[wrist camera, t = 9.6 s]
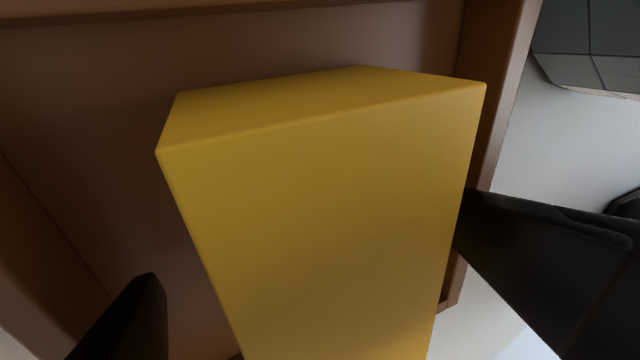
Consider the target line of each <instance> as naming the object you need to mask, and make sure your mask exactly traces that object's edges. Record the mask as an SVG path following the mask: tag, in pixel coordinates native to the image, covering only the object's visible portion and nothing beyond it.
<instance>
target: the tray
mask: <svg viewBox="0 0 640 360" xmlns="http://www.w3.org/2000/svg"><path fill="white" fill-rule="evenodd" d="M542 2H543V0H0V327H2V328H3V329H4V330H5V331H6V332H8V333H9V334H10V335H11V336H12V337H13V338H15V339H16V340H17V341H18V342H19V343H20V344H22V345H23V346H24V347H25V348H26V349H28V350H29V351H30V352H31V353H32V354H33V355H35V356H36V357H37V358H38V359H39V360H64V358H65V357H66V356H67V355H68V354H69V353H70V351H71V350H72V349H73V348H74V347H75V346H76V344H77V343H78V342H79V341H80V340H81V339H82V337H83V336H84V335H85V334H86V333H87V332H88V330H89V329H90V328H91V327H92V326H93V325H94V323H95V322H96V321H97V320H98V319H99V317H100V316H101V315H102V314H103V313H104V312H105V310H106V309H107V308H108V307H109V306H110V305H111V303H112V302H113V301H114V300H115V299H116V298H117V296H118V295H119V294H120V293H121V292H122V291H123V289H124V288H125V287H126V286H127V285H128V283H129V282H130V281H131V280H132V279H133V278H134V277H135V276H138V275H141V274H144V273H147V272H153V273H155V275H156V276H157V278H158V280H159V281H160V283H161V285H162V287H163V288H164V290H165V293H166V296H167V314H168V342H169V359H168V360H244V357H243V355H242V353H241V351H240V348H239V346H238V344H237V341H236V339H235V337H234V335H233V332H232V330H231V328H230V325H229V323H228V321H227V318H226V316H225V314H224V312H223V309H222V307H221V305H220V302H219V300H218V298H217V295H216V293H215V291H214V289H213V286H212V284H211V282H210V279H209V277H208V275H207V273H206V270H205V268H204V266H203V263H202V261H201V259H200V256H199V254H198V252H197V250H196V247H195V245H194V243H193V240H192V238H191V236H190V233H189V231H188V229H187V227H186V224H185V222H184V220H183V217H182V215H181V213H180V211H179V208H178V206H177V204H176V201H175V199H174V197H173V194H172V192H171V190H170V188H169V185H168V183H167V181H166V178H165V176H164V174H163V171H162V169H161V167H160V165H159V162H158V160H157V158H156V155H155V149H156V147H157V144H158V141H159V139H160V136H161V134H162V131H163V129H164V126H165V123H166V121H167V118H168V116H169V113H170V111H171V108H172V106H173V103H174V100H175V98H176V95H177V93H178V92H180V91H186V90H193V89H200V88H206V87H213V86H220V85H227V84H233V83H240V82H247V81H254V80H261V79H267V78H274V77H281V76H288V75H294V74H301V73H308V72H315V71H321V70H328V69H335V68H342V67H348V66H355V65H362V64H364V65H371V66H378V67H384V68H391V69H398V70H405V71H412V72H418V73H425V74H432V75H439V76H446V77H452V78H459V79H466V80H473V81H480V82H484V83H486V85H487V87H486V92H485V96H484V101H483V105H482V110H481V114H480V119H479V123H478V128H477V132H476V136H475V141H474V145H473V150H472V154H471V159H470V163H469V168H468V172H467V177H466V181H465V186H464V187H467V188H472V189H477V190H482V191H487V192H489V189H490V186H491V182H492V179H493V175H494V172H495V168H496V164H497V161H498V157H499V154H500V150H501V147H502V143H503V140H504V136H505V133H506V129H507V126H508V122H509V119H510V115H511V112H512V108H513V104H514V101H515V97H516V94H517V90H518V87H519V83H520V80H521V76H522V73H523V69H524V66H525V62H526V59H527V55H528V52H529V48H530V44H531V41H532V37H533V34H534V30H535V27H536V23H537V20H538V16H539V13H540V9H541V6H542ZM467 267H468V262H467V261H466V260H465V259H464V258H463V257H462V256H461V255H460V254H459V253H458V252H457V251H456V250H455V249H454V248H453V247H452V246H451V248H450V253H449V257H448V262H447V266H446V270H445V275H444V279H443V284H442V288H441V293H440V297H439V302H438V306H437V311H436V314H438V313H440V312H442V311H444V310H445V309H448V308H449V307H451V306H453V305H455V304H457V302H458V299H459V295H460V292H461V288H462V284H463V281H464V277H465V274H466V270H467Z"/></svg>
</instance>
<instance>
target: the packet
mask: <svg viewBox="0 0 640 360" xmlns="http://www.w3.org/2000/svg"><path fill="white" fill-rule="evenodd" d="M486 87H487V85H486V83H484V82H480V81H473V80H466V79H459V78H452V77H446V76H439V75H432V74H425V73H418V72H412V71H405V70H398V69H391V68H384V67H378V66H371V65H364V64H362V65H355V66H348V67H342V68H335V69H328V70H321V71H315V72H308V73H301V74H294V75H288V76H281V77H274V78H267V79H261V80H254V81H247V82H240V83H233V84H227V85H220V86H213V87H206V88H200V89H193V90H186V91H180V92H178V93H177V95H176V98H175V100H174V103H173V106H172V108H171V111H170V113H169V116H168V118H167V121H166V123H165V126H164V129H163V131H162V134H161V136H160V139H159V141H158V144H157V147H156V149H155V155H156V158H157V160H158V162H159V165H160V167H161V169H162V171H163V174H164V176H165V178H166V181H167V183H168V185H169V188H170V190H171V192H172V194H173V197H174V199H175V201H176V204H177V206H178V208H179V211H180V213H181V215H182V217H183V220H184V222H185V224H186V227H187V229H188V231H189V233H190V236H191V238H192V240H193V243H194V245H195V247H196V250H197V252H198V254H199V256H200V259H201V261H202V263H203V266H204V268H205V270H206V273H207V275H208V277H209V279H210V282H211V284H212V286H213V289H214V291H215V293H216V295H217V298H218V300H219V302H220V305H221V307H222V309H223V312H224V314H225V316H226V318H227V321H228V323H229V325H230V328H231V330H232V332H233V335H234V337H235V339H236V341H237V344H238V346H239V348H240V351H241V353H242V355H243V357H244V360H426V355H427V351H428V346H429V342H430V337H431V333H432V328H433V324H434V320H435V315H436V311H437V306H438V302H439V297H440V293H441V288H442V284H443V279H444V275H445V270H446V266H447V262H448V257H449V253H450V248H451V244H452V239H453V235H454V230H455V226H456V221H457V217H458V212H459V208H460V203H461V199H462V195H463V190H464V186H465V181H466V177H467V172H468V168H469V163H470V159H471V154H472V150H473V145H474V141H475V136H476V132H477V128H478V123H479V119H480V114H481V110H482V105H483V101H484V96H485V92H486Z"/></svg>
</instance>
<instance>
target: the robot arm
mask: <svg viewBox="0 0 640 360" xmlns="http://www.w3.org/2000/svg"><path fill="white" fill-rule="evenodd" d="M451 246H452V247H453V248H454V249H455V250H456V251H457V252H458V253H459V254H460V255H461V256H462V257H463V258H464V259H465V260H466V261H467V262H468V263H469V264H470V266H471V267H472V268H473V269H474V270H475V271H476V272H477V273H478V274H479V275H480V276H481V277H482V278H483V279H484V280H485V281H486V282H487V283H488V284H489V285H490V286H491V287H492V288H493V289H494V290H495V291H496V292H497V293H498V294H499V296H500V297H501V298H502V299H503V300H504V301H505V302H506V303H507V304H508V305H509V306H510V307H511V308H512V309H513V310H514V311H515V312H516V313H517V314H518V315H519V316H520V317H521V318H522V319H523V320H524V321H525V322H526V323H527V324H528V326H529V327H530V328H531V329H532V330H533V331H534V332H535V333H536V334H537V335H538V336H539V337H540V338H541V339H542V340H543V341H544V342H545V343H546V344H547V345H548V346H549V347H550V348H551V349H552V350H553V351H554V352H555V353H556V354H557V355H558V356H559V358H560V359H561V360H640V189H639V190H637V191H635V192H633V193H631V194H628V195H626V196H624V197H622V198H620V199H618V200H616V201H614V202H613V203H612V204H611V205H610V207H609V208H608V210H607V212H606V213H605V215H603V214H598V213H592V212H586V211H581V210H576V209H571V208H566V207H561V206H556V205H553V206H552V205H550V204H546V203H541V202H536V201H531V200H526V199H521V198H516V197H511V196H506V195H502V194H497V193H492V192H487V191H482V190H477V189H472V188H467V187H464V190H463V195H462V199H461V203H460V208H459V212H458V217H457V221H456V226H455V230H454V235H453V239H452V244H451ZM168 359H169V342H168V314H167V296H166V293H165V290H164V288H163V287H162V285H161V283H160V281H159V280H158V278H157V276H156V275H155V273H153V272H147V273H144V274H141V275H138V276H135V277H134V278H133V279H132V280H131V281H130V282H129V283H128V285H127V286H126V287H125V288H124V289H123V291H122V292H121V293H120V294H119V295H118V296H117V298H116V299H115V300H114V301H113V302H112V303H111V305H110V306H109V307H108V308H107V309H106V310H105V312H104V313H103V314H102V315H101V316H100V317H99V319H98V320H97V321H96V322H95V323H94V325H93V326H92V327H91V328H90V329H89V330H88V332H87V333H86V334H85V335H84V336H83V337H82V339H81V340H80V341H79V342H78V343H77V344H76V346H75V347H74V348H73V349H72V350H71V351H70V353H69V354H68V355H67V356H66V357H65V358H64V360H168Z"/></svg>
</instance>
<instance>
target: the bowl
mask: <svg viewBox="0 0 640 360" xmlns="http://www.w3.org/2000/svg"><path fill="white" fill-rule="evenodd" d="M531 48H532V51H533V53H532V54H533V55H534V57H535V58H536V60H537V61H538V63H539V64H540V66H541V67H542V69H543V70H544V72H545V73H546V75H547V76H548V78H549V79H550V81H551V82H552V83H553V84H555V85H558V86H561V87H564V88H567V89H569V90H572V91H575V92H578V93H584V94H591V95H598V96H605V97H612V98H620V99H629V100H633V101H640V0H543V2H542V6H541V9H540V13H539V16H538V20H537V23H536V27H535V30H534V34H533V37H532V41H531Z"/></svg>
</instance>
